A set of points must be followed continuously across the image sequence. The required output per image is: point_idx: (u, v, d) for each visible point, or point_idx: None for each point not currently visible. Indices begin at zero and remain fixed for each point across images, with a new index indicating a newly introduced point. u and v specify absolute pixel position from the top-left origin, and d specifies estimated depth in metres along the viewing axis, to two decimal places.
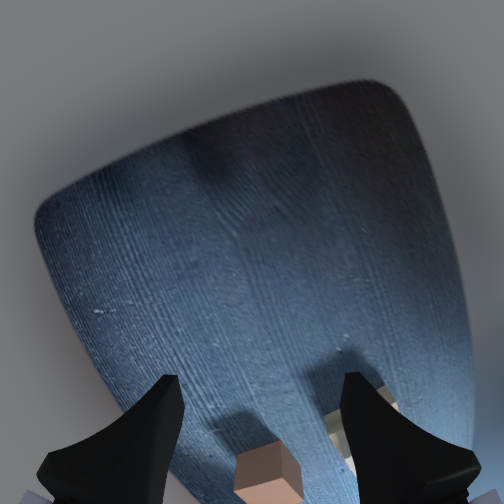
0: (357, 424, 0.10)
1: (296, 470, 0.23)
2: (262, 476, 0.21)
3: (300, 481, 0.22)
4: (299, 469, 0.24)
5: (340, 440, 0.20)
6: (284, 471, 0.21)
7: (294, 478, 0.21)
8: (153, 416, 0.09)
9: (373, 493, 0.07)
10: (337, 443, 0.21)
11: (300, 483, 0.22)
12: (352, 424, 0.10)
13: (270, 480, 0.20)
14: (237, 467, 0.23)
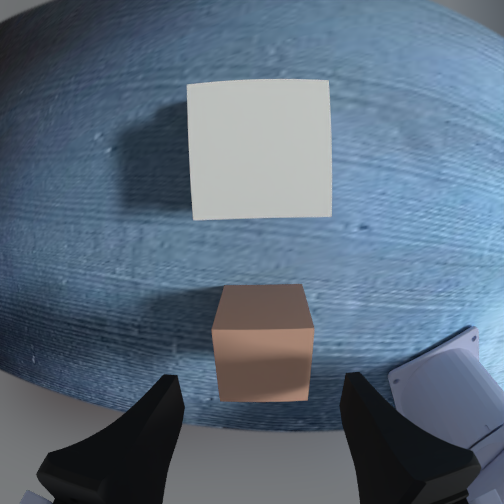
0: (357, 424, 0.10)
1: (280, 297, 0.16)
2: None
3: (299, 303, 0.15)
4: (299, 289, 0.17)
5: None
6: (226, 317, 0.14)
7: (270, 311, 0.15)
8: (153, 416, 0.09)
9: (373, 493, 0.07)
10: None
11: (297, 307, 0.15)
12: (352, 424, 0.10)
13: None
14: None
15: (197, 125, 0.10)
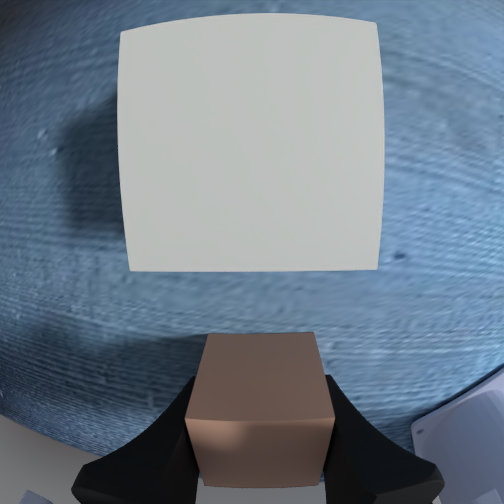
0: None
1: (285, 357, 0.11)
2: None
3: (312, 370, 0.10)
4: (310, 342, 0.12)
5: None
6: (207, 395, 0.09)
7: (270, 385, 0.10)
8: None
9: (335, 499, 0.07)
10: None
11: (310, 377, 0.10)
12: None
13: (190, 437, 0.09)
14: None
15: (134, 99, 0.05)
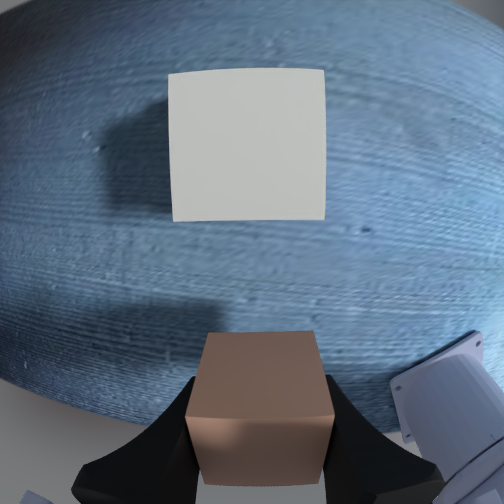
0: None
1: (285, 355, 0.11)
2: None
3: (312, 368, 0.10)
4: (310, 340, 0.12)
5: None
6: (207, 393, 0.09)
7: (270, 383, 0.10)
8: None
9: (335, 499, 0.07)
10: None
11: (309, 375, 0.10)
12: None
13: (190, 435, 0.09)
14: None
15: (179, 118, 0.09)
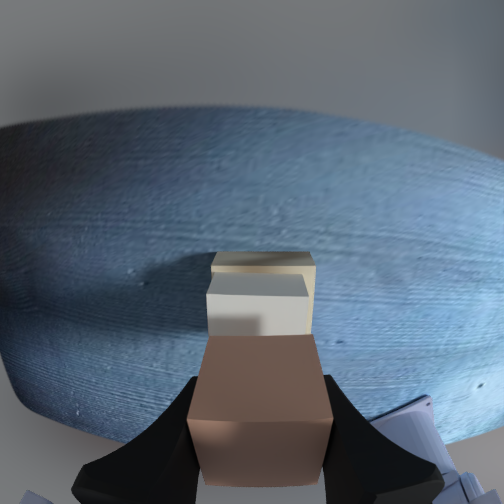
0: None
1: (285, 359, 0.11)
2: None
3: (311, 371, 0.11)
4: (309, 344, 0.12)
5: None
6: (208, 396, 0.09)
7: (270, 386, 0.10)
8: None
9: (335, 499, 0.07)
10: None
11: (308, 379, 0.10)
12: None
13: (192, 437, 0.09)
14: None
15: (214, 322, 0.16)
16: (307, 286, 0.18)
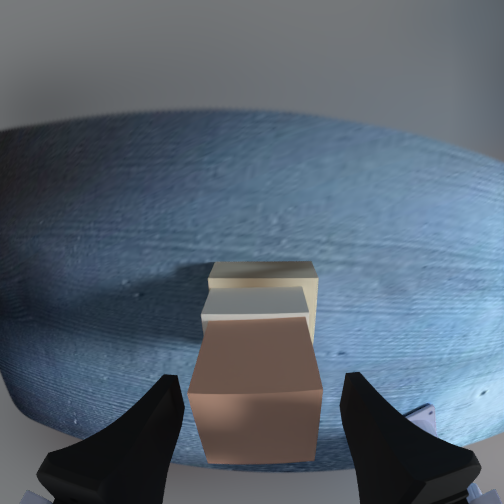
0: (357, 424, 0.10)
1: (278, 338, 0.12)
2: None
3: (303, 349, 0.12)
4: (302, 325, 0.13)
5: None
6: (207, 373, 0.11)
7: (264, 362, 0.11)
8: (153, 416, 0.09)
9: (373, 493, 0.07)
10: None
11: (300, 355, 0.11)
12: (352, 424, 0.10)
13: (193, 412, 0.10)
14: None
15: None
16: (309, 299, 0.17)
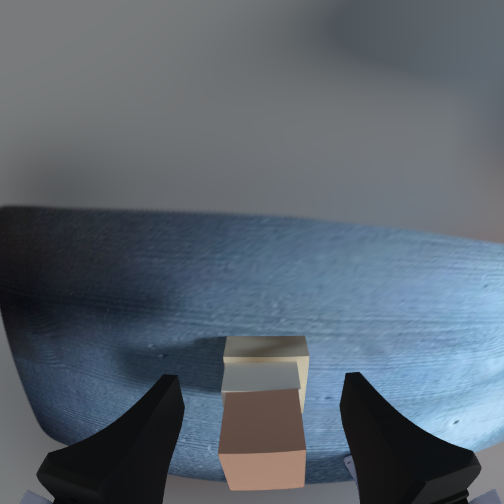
0: (357, 424, 0.10)
1: (278, 409, 0.16)
2: None
3: (295, 418, 0.15)
4: (295, 397, 0.17)
5: None
6: (229, 438, 0.14)
7: (268, 429, 0.15)
8: (153, 416, 0.09)
9: (373, 493, 0.07)
10: None
11: (292, 423, 0.15)
12: (352, 424, 0.10)
13: (221, 462, 0.14)
14: None
15: None
16: (302, 370, 0.21)
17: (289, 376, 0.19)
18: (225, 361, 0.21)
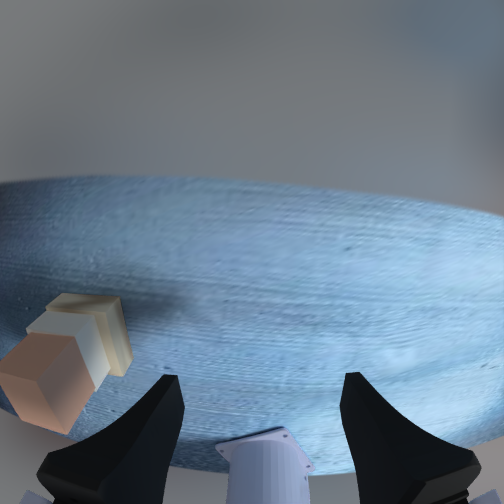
0: (357, 424, 0.10)
1: (47, 348, 0.16)
2: None
3: (51, 357, 0.15)
4: (66, 342, 0.17)
5: None
6: (5, 361, 0.14)
7: (29, 361, 0.14)
8: (153, 416, 0.09)
9: (373, 493, 0.07)
10: None
11: (46, 361, 0.15)
12: (352, 424, 0.10)
13: None
14: None
15: None
16: (104, 327, 0.21)
17: (77, 325, 0.19)
18: None
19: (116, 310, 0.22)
